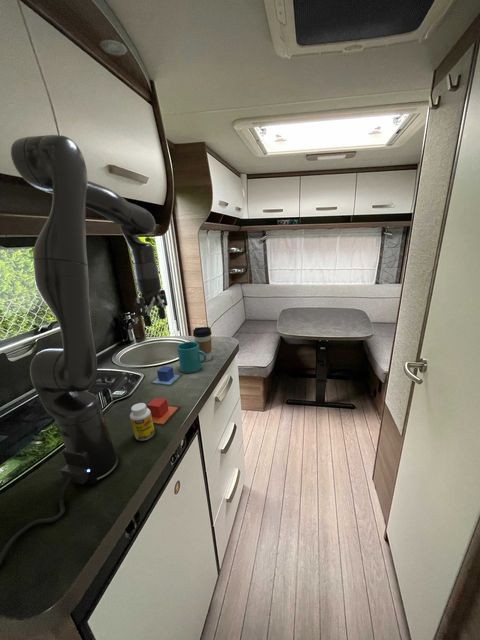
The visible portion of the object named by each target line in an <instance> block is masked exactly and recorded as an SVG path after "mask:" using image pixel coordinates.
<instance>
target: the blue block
mask: <svg viewBox="0 0 480 640" xmlns="http://www.w3.org/2000/svg"><path fill="white" fill-rule="evenodd" d="M156 372H157V378H159V381H170V380H171V379H172V378H173V377H174V374H175V373H174V368H173V366H165V365H163V366H161V367H160V368H159V369H158V370H157V371H156Z"/></svg>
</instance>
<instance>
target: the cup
mask: <svg viewBox="0 0 480 640" xmlns="http://www.w3.org/2000/svg"><path fill="white" fill-rule="evenodd" d="M176 350H177V356H178V362H179V366H180V367H179V369H180V371H181V372H182V373H184V374H193V373H197V372H199V371H200V370H201V369H202V364H204V363H205V362H207V361H206V358H207V357H206V354H205V353H204V352H203V351H201V350H199V344H198V343H196V342H195V341H184V342H182V343H181V342H180V343H179V344H178V345H176ZM200 353H201V354H203V355H204V360H202V361H201V359H200Z"/></svg>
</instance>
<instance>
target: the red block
mask: <svg viewBox="0 0 480 640" xmlns="http://www.w3.org/2000/svg"><path fill="white" fill-rule="evenodd" d="M168 406H169V405H168V399H167V398H161V397H154V398H153V399H152V400H151V401H149V403H147V404H146V407H147V408H148V409H150V411H151V416H152V417H158V418H162V417H163V416H164V415H165V413H166V412H167V411H168V410H169V409H168Z"/></svg>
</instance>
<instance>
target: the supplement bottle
mask: <svg viewBox="0 0 480 640" xmlns="http://www.w3.org/2000/svg"><path fill="white" fill-rule="evenodd" d="M130 411H131V412H130V414H129V419H130V423H131V426H132V430H133V435H134V438H135V439H136V440H137V441H141V442H142V441H147V440H149V439H152V438H153V436H154V435H155V433H156V431H155V430H156V429H155V426H154V423H153V421H152V416H151V411H150V409H148V407H147V404H146V403H144V402H138V403H135V404H133V405H131V408H130Z"/></svg>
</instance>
